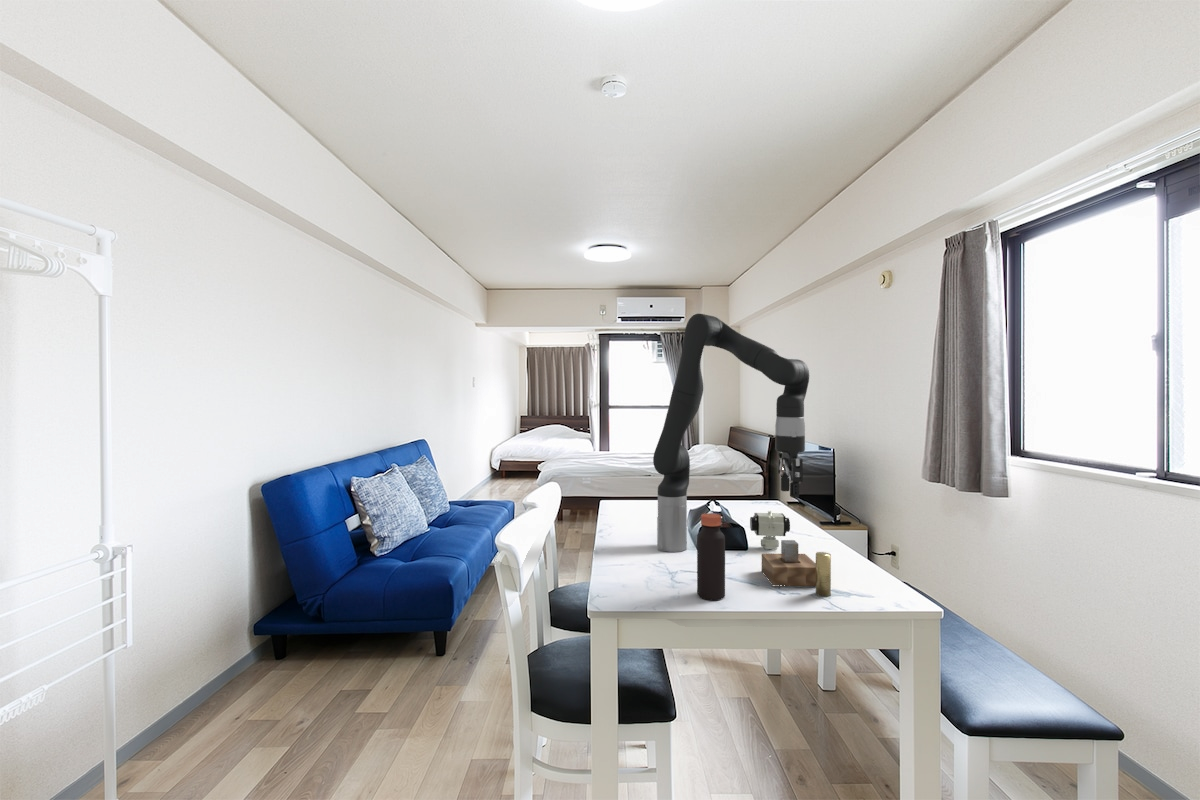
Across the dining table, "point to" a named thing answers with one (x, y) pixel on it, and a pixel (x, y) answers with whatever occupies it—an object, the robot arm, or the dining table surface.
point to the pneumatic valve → (769, 527)
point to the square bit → (789, 551)
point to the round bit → (823, 574)
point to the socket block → (789, 570)
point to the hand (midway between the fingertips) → (789, 494)
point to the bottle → (711, 558)
